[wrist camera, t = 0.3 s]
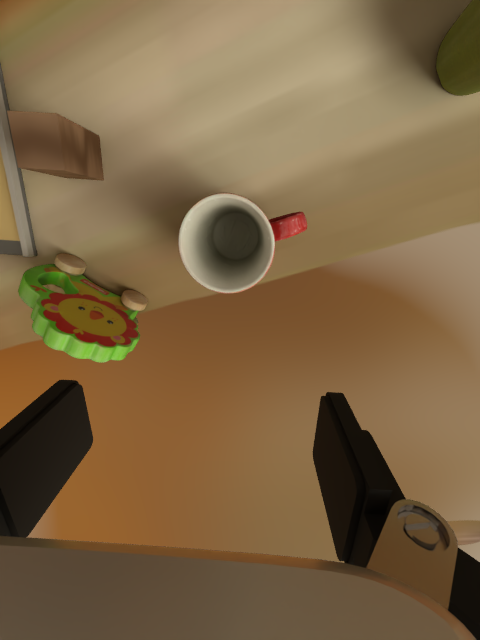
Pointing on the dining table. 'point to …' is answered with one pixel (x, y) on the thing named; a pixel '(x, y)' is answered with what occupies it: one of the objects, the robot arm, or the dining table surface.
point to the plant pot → (461, 53)
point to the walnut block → (55, 145)
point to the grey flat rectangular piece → (12, 192)
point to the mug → (232, 241)
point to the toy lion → (80, 311)
